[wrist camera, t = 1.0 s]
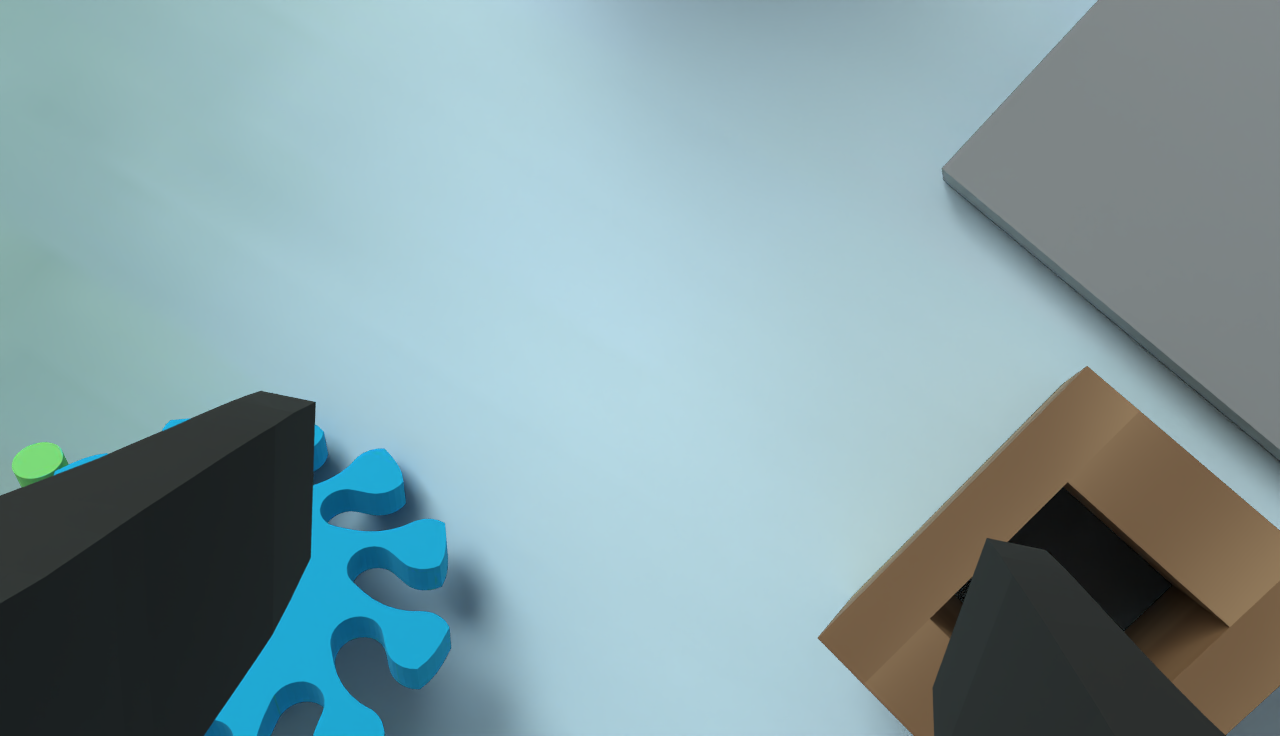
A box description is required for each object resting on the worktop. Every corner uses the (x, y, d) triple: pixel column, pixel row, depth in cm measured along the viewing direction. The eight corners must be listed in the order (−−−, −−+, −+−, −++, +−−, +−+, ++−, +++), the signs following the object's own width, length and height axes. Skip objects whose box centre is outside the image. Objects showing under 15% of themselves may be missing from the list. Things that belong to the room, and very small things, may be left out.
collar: (1276, 567, 20) (1366, 605, 16) (1042, 786, 21) (1061, 885, 16) (1063, 383, 22) (1087, 366, 17) (851, 596, 23) (817, 637, 18)
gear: (554, 571, 23) (106, 964, 17) (548, 708, 27) (187, 1059, 21) (232, 310, 27) (-206, 551, 22) (270, 462, 32) (-88, 697, 26)
